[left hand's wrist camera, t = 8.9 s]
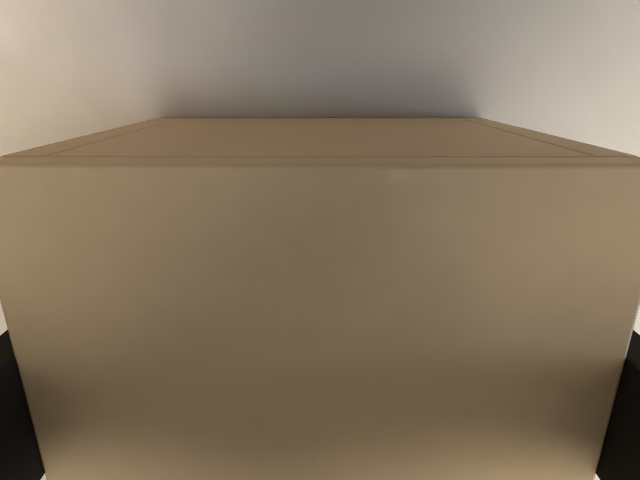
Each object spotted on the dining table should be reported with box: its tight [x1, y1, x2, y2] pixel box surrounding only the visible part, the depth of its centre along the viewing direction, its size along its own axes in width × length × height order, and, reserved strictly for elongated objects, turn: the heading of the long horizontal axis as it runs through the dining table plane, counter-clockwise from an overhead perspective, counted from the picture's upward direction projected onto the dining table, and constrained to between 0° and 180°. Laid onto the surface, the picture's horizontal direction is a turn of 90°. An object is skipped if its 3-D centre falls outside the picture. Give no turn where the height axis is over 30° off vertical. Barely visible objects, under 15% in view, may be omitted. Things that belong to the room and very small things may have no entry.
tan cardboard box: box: [0, 118, 640, 480], centre depth 14 cm, size 17×11×9 cm, turn 0°
